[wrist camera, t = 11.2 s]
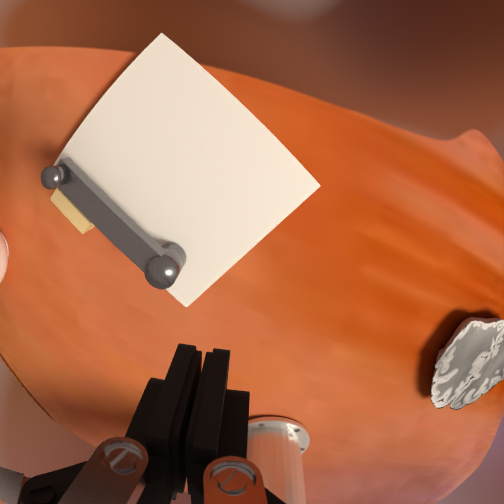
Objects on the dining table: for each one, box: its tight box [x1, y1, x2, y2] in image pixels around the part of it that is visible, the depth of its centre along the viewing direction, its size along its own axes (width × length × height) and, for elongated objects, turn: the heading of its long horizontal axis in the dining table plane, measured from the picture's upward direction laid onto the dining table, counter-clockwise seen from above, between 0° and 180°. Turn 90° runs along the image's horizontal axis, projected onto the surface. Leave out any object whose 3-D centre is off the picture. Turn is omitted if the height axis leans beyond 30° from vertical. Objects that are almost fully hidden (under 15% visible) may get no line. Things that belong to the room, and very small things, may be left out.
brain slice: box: [431, 317, 504, 410], centre depth 38 cm, size 20×17×3 cm
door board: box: [50, 33, 320, 308], centre depth 28 cm, size 19×22×6 cm
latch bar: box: [41, 157, 186, 289], centre depth 28 cm, size 16×3×6 cm, turn 45°
